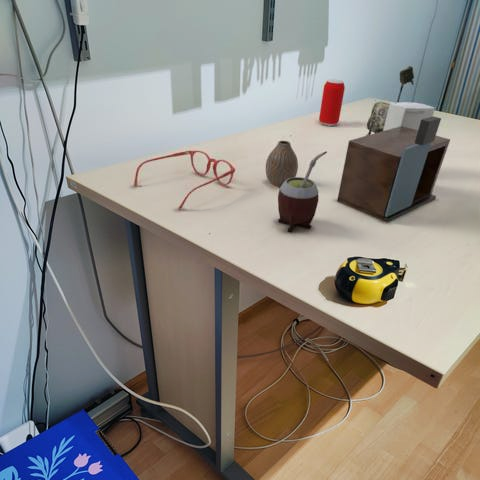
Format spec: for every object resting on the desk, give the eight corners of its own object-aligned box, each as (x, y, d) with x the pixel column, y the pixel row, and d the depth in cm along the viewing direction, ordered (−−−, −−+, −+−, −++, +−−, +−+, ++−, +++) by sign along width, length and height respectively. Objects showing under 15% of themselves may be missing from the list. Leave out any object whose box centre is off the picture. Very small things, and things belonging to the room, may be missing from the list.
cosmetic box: (386, 177, 98) (405, 108, 89) (372, 168, 102) (388, 101, 93) (416, 174, 100) (437, 106, 91) (400, 166, 105) (419, 100, 95)
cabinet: (435, 199, 90) (455, 140, 82) (387, 222, 80) (405, 158, 72) (386, 181, 96) (401, 125, 89) (336, 201, 87) (348, 140, 79)
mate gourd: (282, 213, 81) (291, 131, 72) (322, 222, 79) (337, 138, 70) (269, 229, 76) (277, 143, 66) (311, 239, 74) (326, 151, 64)
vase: (287, 192, 89) (292, 149, 84) (258, 185, 92) (261, 143, 86) (300, 182, 94) (306, 141, 88) (272, 175, 96) (276, 135, 91)
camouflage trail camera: (359, 146, 116) (377, 61, 103) (402, 151, 114) (425, 66, 101) (357, 155, 110) (376, 66, 97) (402, 161, 108) (427, 71, 95)
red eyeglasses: (242, 190, 89) (243, 167, 86) (183, 212, 80) (181, 186, 77) (189, 167, 98) (188, 145, 95) (130, 184, 89) (127, 160, 86)
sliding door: (413, 206, 83) (442, 117, 73) (389, 218, 79) (416, 125, 69) (406, 203, 84) (433, 115, 74) (382, 214, 80) (407, 123, 69)
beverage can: (338, 122, 134) (346, 79, 126) (337, 127, 129) (345, 83, 121) (319, 120, 135) (325, 77, 127) (317, 125, 130) (324, 81, 122)
